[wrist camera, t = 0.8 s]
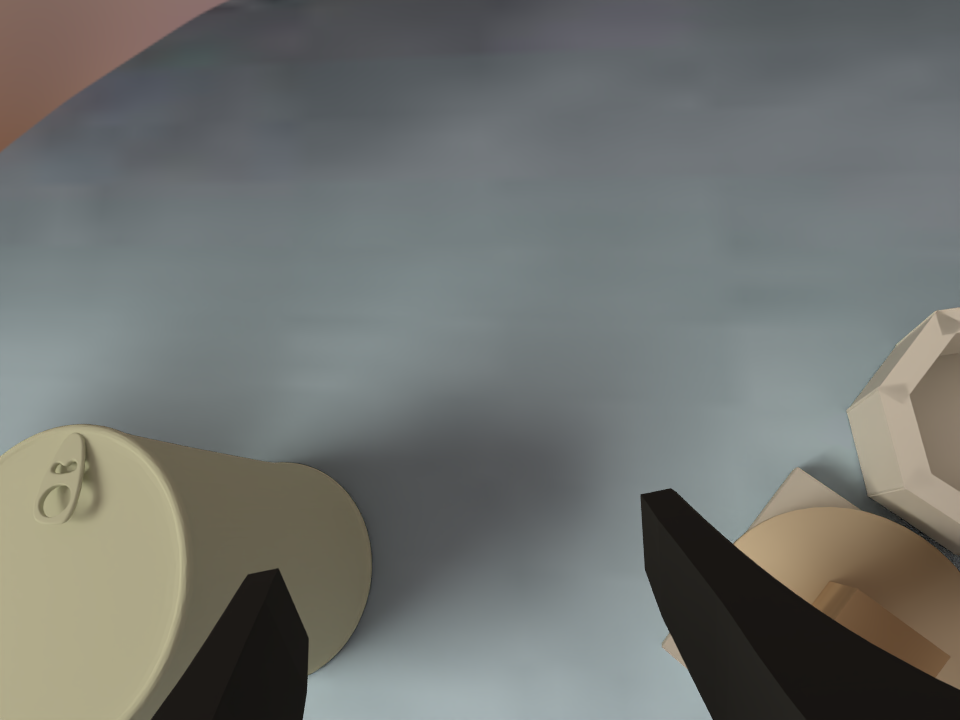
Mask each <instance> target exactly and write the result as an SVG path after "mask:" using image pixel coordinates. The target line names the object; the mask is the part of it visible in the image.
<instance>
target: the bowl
mask: <svg viewBox="0 0 960 720" xmlns="http://www.w3.org/2000/svg"><path fill="white" fill-rule="evenodd" d="M895 346H896V347H895V348H894V349H893V351H892V352H891V353H890V355H889V356H888V357H887V359H886V360H885V361H884V363H883V364H882V365H881V367H880V368H879V369H878V371H877V372H876V373H875V374H874V376H873V377H872V378H871V380H870V381H869V382H868V384H867V385H866V386H865V388H864V389H863V390H862V392H861V393H860V394H859V396H858V397H857V398H856V400H855V401H854V402H853V404H852V405H851V406H850V408H848V409H847V414H848V418H849V422H850V426H851V430H852V434H853V438H854V442H855V446H856V450H857V454H858V458H859V462H860V466H861V470H862V474H863V478H864V482H865V486H866V490H867V496H868V497H870V498H872V499H873V500H875V501H876V502H878V503H879V504H881V505H882V506H884V507H885V508H887V509H888V510H890V511H891V512H893V513H894V514H896V515H897V516H899V517H900V518H902V519H903V520H905V521H906V522H908V523H909V524H911V525H912V526H914V527H915V528H917V529H918V530H920V531H921V532H923V533H924V534H926V535H927V536H929V537H930V538H932V539H933V540H935V541H936V542H938V543H939V544H941V545H942V546H944V547H945V548H947V549H948V550H950V551H951V552H952V553H953V554H955V555H960V307H959V308H952V309H946V310H940V311H939V310H937V311H935V312H934V313H932V314H931V315H930V316H929V317H928V318H927V319H925V320H924V321H923V322H922V323H921V324H920V325H918V326H917V327H916V328H915V329H914V330H913V331H911V332H910V333H909V334H908V335H907V336H906V337H904V338H903V339H902V340H901V341H900V342H899V343H897V344H896V345H895Z"/></svg>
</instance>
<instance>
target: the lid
mask: <svg viewBox="0 0 960 720" xmlns="http://www.w3.org/2000/svg"><path fill="white" fill-rule="evenodd" d="M733 545H735V546H736V547H737V548H738V549H739V550H741V551H742V552H743V553H744V554H746V555H747V556H748V557H749V558H750V559H752V560H753V561H754V562H755V563H756V564H758V565H759V566H760V567H761V568H763V569H764V570H765V571H766V572H768V573H769V574H770V575H772V576H773V577H774V578H775V579H777V580H778V581H779V582H781V583H782V584H784V585H785V586H786V587H788V588H789V589H790V590H792V591H793V592H794V593H796V594H797V595H798V596H800V597H801V598H803V599H804V600H805V601H807V602H808V603H810V604H811V605H813V606H814V607H815V608H817V609H818V610H820V611H821V612H823V613H824V614H826V615H827V616H829V617H831V618H832V619H834V620H835V621H837V622H838V623H840V624H841V625H843V626H844V627H846V628H848V629H849V630H851V631H852V632H854V633H856V634H857V635H859V636H861V637H862V638H864V639H866V640H867V641H869V642H871V643H872V644H874V645H876V646H877V647H879V648H881V649H883V650H885V651H887V652H888V653H890V654H892V655H894V656H896V657H898V658H899V659H901V660H903V661H905V662H907V663H909V664H910V665H912V666H914V667H916V668H918V669H920V670H921V671H923V672H925V673H927V674H929V675H931V676H933V677H935V678H937V679H939V680H941V681H943V682H945V683H947V684H949V685H951V686H953V687H955V688H957V689H959V690H960V572H959V571H958V569H957V568H956V567H955V566H954V565H953V563H952V562H951V561H949V560H948V559H947V558H946V557H945V556H944V555H943V554H942V553H941V552H940V551H939V550H938V549H937V548H935V547H934V546H933V545H931V544H930V543H929V542H927V541H926V540H925V539H923V538H922V537H921V536H919V535H917V534H916V533H914V532H912V531H911V530H909V529H907V528H906V527H904V526H902V525H900V524H897V523H895V522H893V521H891V520H889V519H886V518H884V517H881V516H878V515H875V514H871V513H868V512H864V511H859V510H854V509H849V508H838V507H813V508H806V509H800V510H795V511H790V512H787V513H783V514H780V515H777V516H774V517H772V518H770V519H767V520H765V521H763V522H761V523H759V524H758V525H756V526H754V527H753V528H751V529H750V530H748V531H747V532H746V533H744V534H743V535H742V536H741V537H740V538H738V539H737V540H736V541H735V542H734V543H733Z"/></svg>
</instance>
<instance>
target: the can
mask: <svg viewBox="0 0 960 720" xmlns="http://www.w3.org/2000/svg"><path fill="white" fill-rule="evenodd" d="M276 568H279V570H280V572H281V575H282V577H283V579H284V582H285V584H286V586H287V588H288V591H289V593H290V595H291V598H292V600H293V602H294V605H295V607H296V609H297V612H298V614H299V616H300V619H301V621H302V623H303V625H304V628H305V630H306V632H307V635H308V637H309V652H308V675H310V674H311V673H313V672H315V671H316V670H318V669H319V668H321V667H322V666H323V665H325V664H326V663H328V662H329V661H330V660H331V659H332V658H333V657H334V656H335V655H336V654H337V653H338V652H339V651H340V650H341V648H342V647H343V646H344V645H345V644H346V642H347V641H348V639H349V638H350V637H351V635H352V634H353V632H354V630H355V628H356V627H357V625H358V623H359V620H360V618H361V616H362V614H363V611H364V608H365V605H366V602H367V598H368V594H369V590H370V583H371V573H372V555H371V547H370V540H369V536H368V532H367V529H366V526H365V522H364V520H363V518H362V516H361V513H360V511H359V509H358V508H357V506H356V504H355V503H354V501H353V500H352V498H351V497H350V495H349V494H348V493H347V492H346V491H345V490H344V489H343V488H342V487H341V486H340V485H339V484H338V483H337V482H336V481H335V480H333V479H332V478H331V477H329V476H328V475H326V474H325V473H323V472H321V471H319V470H317V469H315V468H312V467H309V466H306V465H302V464H297V463H286V462H280V463H272V462H265V461H259V460H254V459H249V458H243V457H238V456H233V455H228V454H222V453H217V452H212V451H207V450H201V449H196V448H191V447H186V446H181V445H177V444H172V443H167V442H162V441H157V440H153V439H148V438H143V437H139V436H135V435H131V434H126V433H124V432H121V431H118V430H116V429H113V428H109V427H105V426H98V425H91V424H76V425H66V426H61V427H56V428H53V429H49V430H46V431H43V432H41V433H38V434H36V435H34V436H32V437H30V438H28V439H26V440H24V441H22V442H20V443H19V444H17V445H15V446H14V447H12V448H11V449H9V450H8V451H7V452H6V453H4V454H3V455H2V456H0V720H151V718H152V717H153V716H154V714H155V713H156V711H157V710H158V709H159V707H160V706H161V705H162V703H163V702H164V700H165V699H166V698H167V696H168V695H169V694H170V692H171V691H172V689H173V688H174V687H175V685H176V684H177V682H178V681H179V679H180V678H181V677H182V675H183V674H184V672H185V671H186V669H187V668H188V666H189V665H190V663H191V662H192V660H193V659H194V657H195V656H196V654H197V653H198V651H199V650H200V648H201V647H202V645H203V643H204V642H205V640H206V639H207V637H208V636H209V634H210V633H211V631H212V630H213V628H214V626H215V625H216V623H217V622H218V620H219V618H220V617H221V615H222V614H223V612H224V611H225V609H226V607H227V606H228V604H229V603H230V601H231V599H232V598H233V596H234V595H235V593H236V591H237V590H238V588H239V587H240V585H241V584H242V582H243V581H244V579H245V578H246V576H247V575H248V574H252V573H257V572H262V571H267V570H272V569H276Z"/></svg>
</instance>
